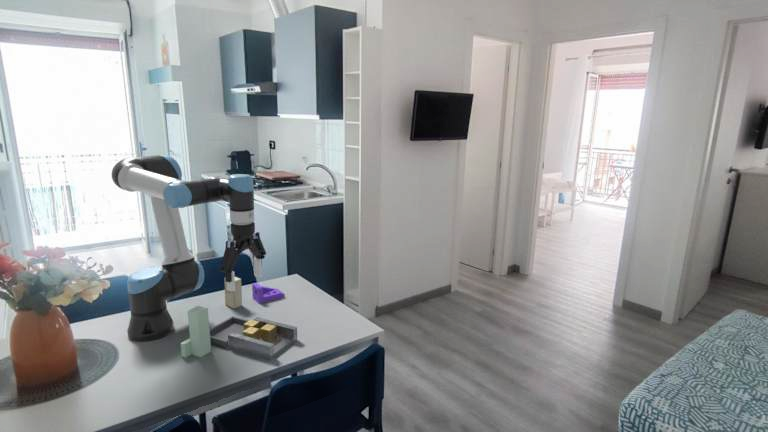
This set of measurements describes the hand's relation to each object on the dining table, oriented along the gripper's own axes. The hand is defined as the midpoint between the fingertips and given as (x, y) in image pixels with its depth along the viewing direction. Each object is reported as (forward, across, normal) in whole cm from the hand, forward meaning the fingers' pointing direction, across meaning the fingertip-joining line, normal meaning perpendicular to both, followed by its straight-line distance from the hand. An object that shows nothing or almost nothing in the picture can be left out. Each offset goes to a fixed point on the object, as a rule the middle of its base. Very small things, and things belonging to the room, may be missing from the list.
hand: (245, 283), depth 146 cm
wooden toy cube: (+22, +2, 0) cm, 22 cm away
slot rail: (+24, +4, -4) cm, 25 cm away
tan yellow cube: (+22, +6, -4) cm, 24 cm away
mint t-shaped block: (+24, -10, +12) cm, 29 cm away
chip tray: (+24, +4, +12) cm, 27 cm away
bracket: (+25, +38, +20) cm, 50 cm away
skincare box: (+25, +25, +28) cm, 45 cm away
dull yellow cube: (+22, +6, +3) cm, 24 cm away
